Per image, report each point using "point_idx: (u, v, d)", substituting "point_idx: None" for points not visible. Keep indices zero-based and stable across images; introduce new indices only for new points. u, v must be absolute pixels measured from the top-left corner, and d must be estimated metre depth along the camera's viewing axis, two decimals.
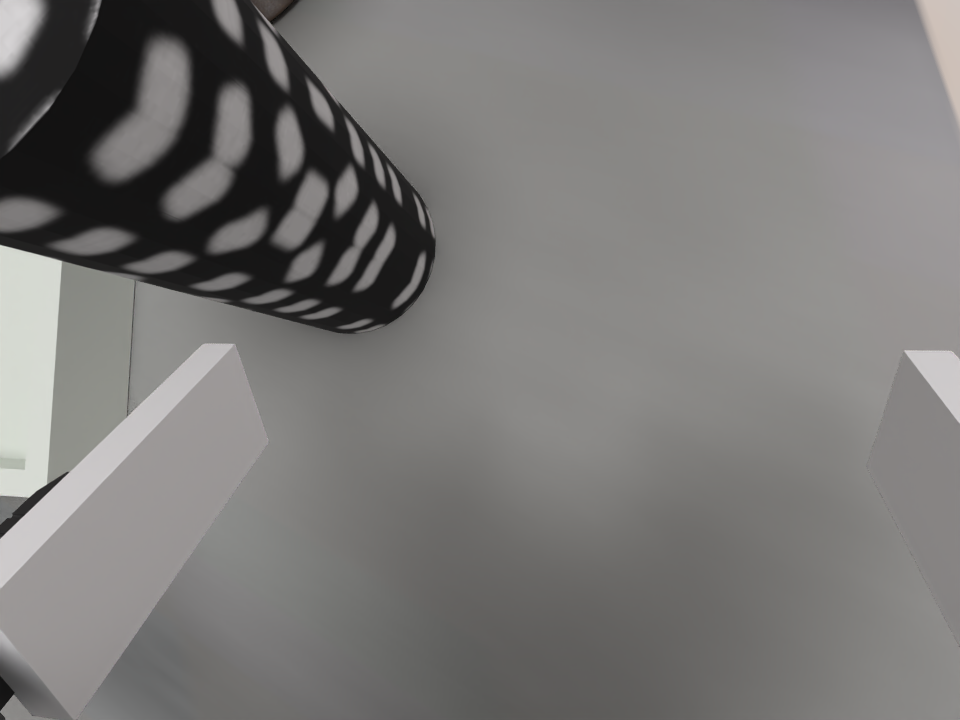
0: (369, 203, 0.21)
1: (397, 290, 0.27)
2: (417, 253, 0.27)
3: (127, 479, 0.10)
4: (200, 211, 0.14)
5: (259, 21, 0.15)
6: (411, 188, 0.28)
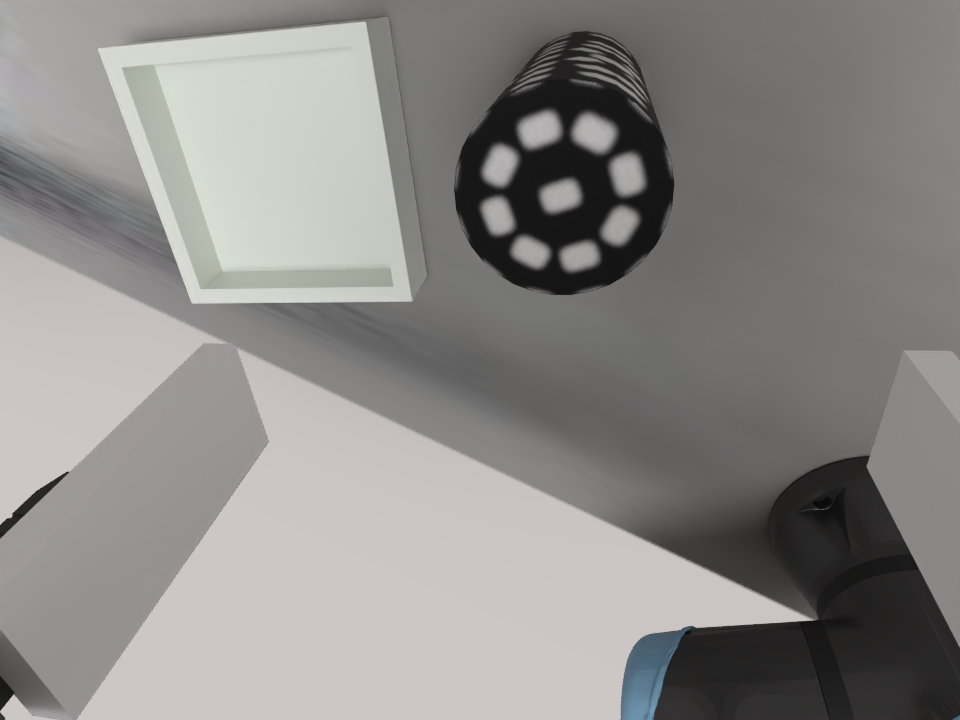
0: None
1: None
2: None
3: (127, 479, 0.10)
4: None
5: (655, 115, 0.26)
6: (638, 67, 0.37)
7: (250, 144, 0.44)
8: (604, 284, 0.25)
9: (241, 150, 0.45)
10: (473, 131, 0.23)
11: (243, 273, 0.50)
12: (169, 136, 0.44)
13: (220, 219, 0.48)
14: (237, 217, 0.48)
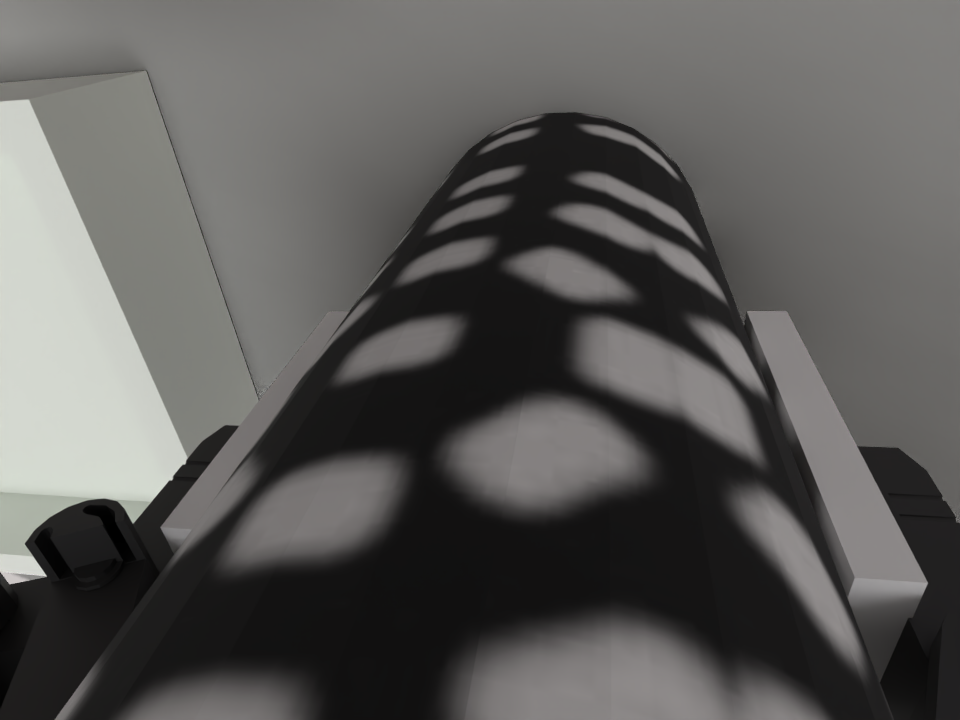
0: None
1: None
2: None
3: None
4: None
5: None
6: (696, 206, 0.16)
7: None
8: None
9: None
10: None
11: None
12: None
13: None
14: None
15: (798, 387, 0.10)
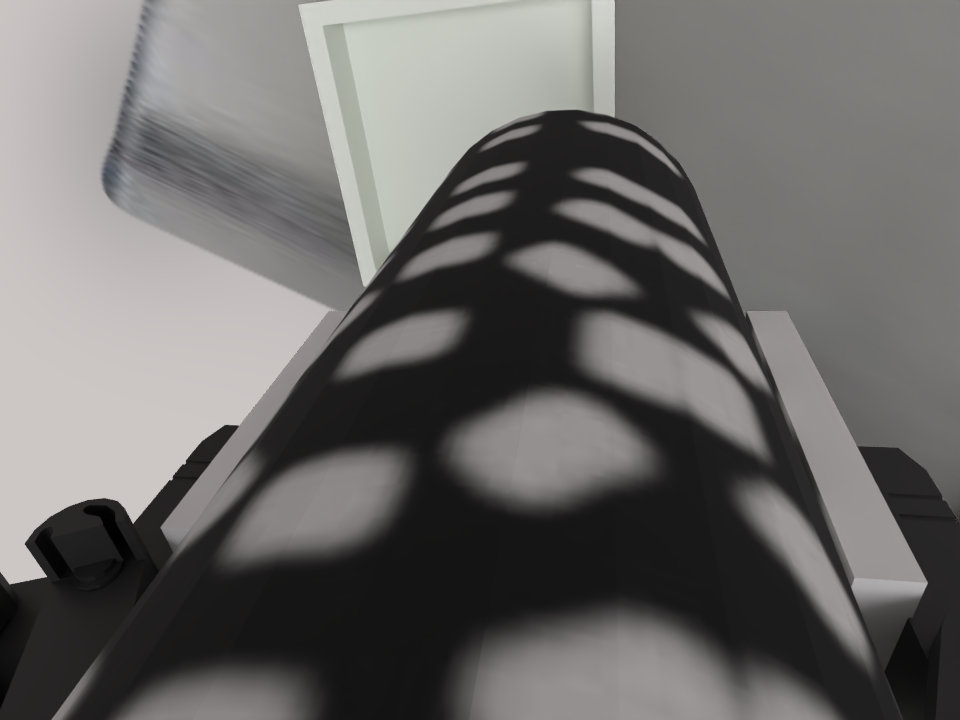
0: None
1: None
2: None
3: None
4: None
5: None
6: (698, 203, 0.16)
7: (440, 111, 0.41)
8: None
9: (429, 118, 0.41)
10: None
11: None
12: (354, 104, 0.41)
13: (394, 195, 0.45)
14: (414, 192, 0.44)
15: (798, 387, 0.10)
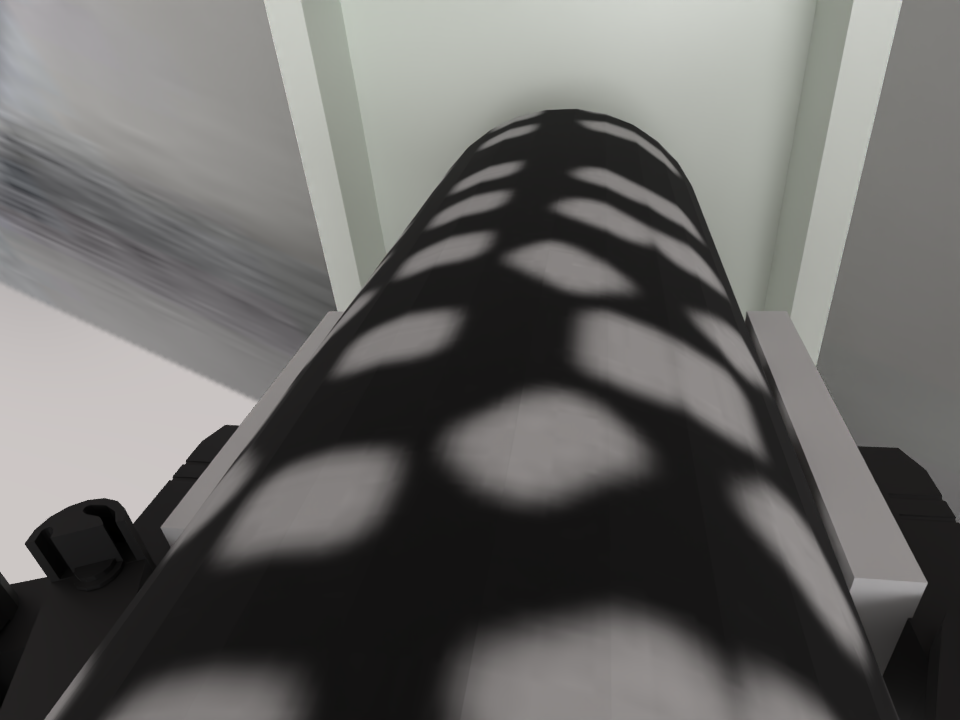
0: None
1: None
2: None
3: None
4: None
5: None
6: (696, 202, 0.16)
7: None
8: None
9: None
10: None
11: None
12: (354, 129, 0.23)
13: None
14: None
15: (798, 387, 0.10)
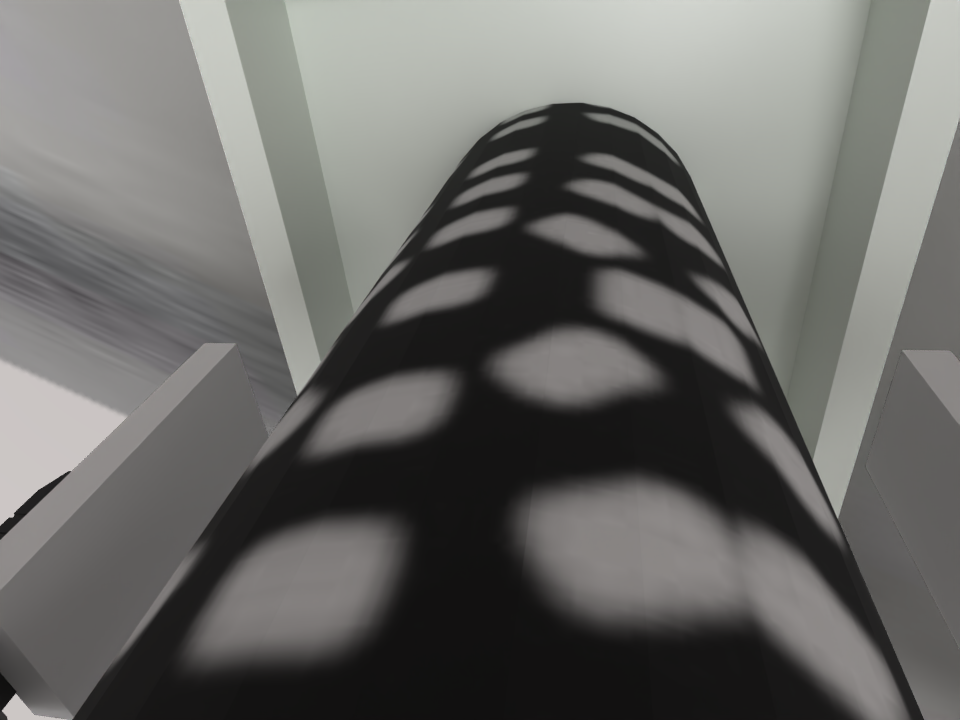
0: None
1: None
2: None
3: (129, 478, 0.10)
4: None
5: (882, 626, 0.06)
6: (694, 189, 0.17)
7: None
8: None
9: None
10: None
11: None
12: (307, 163, 0.19)
13: None
14: None
15: None
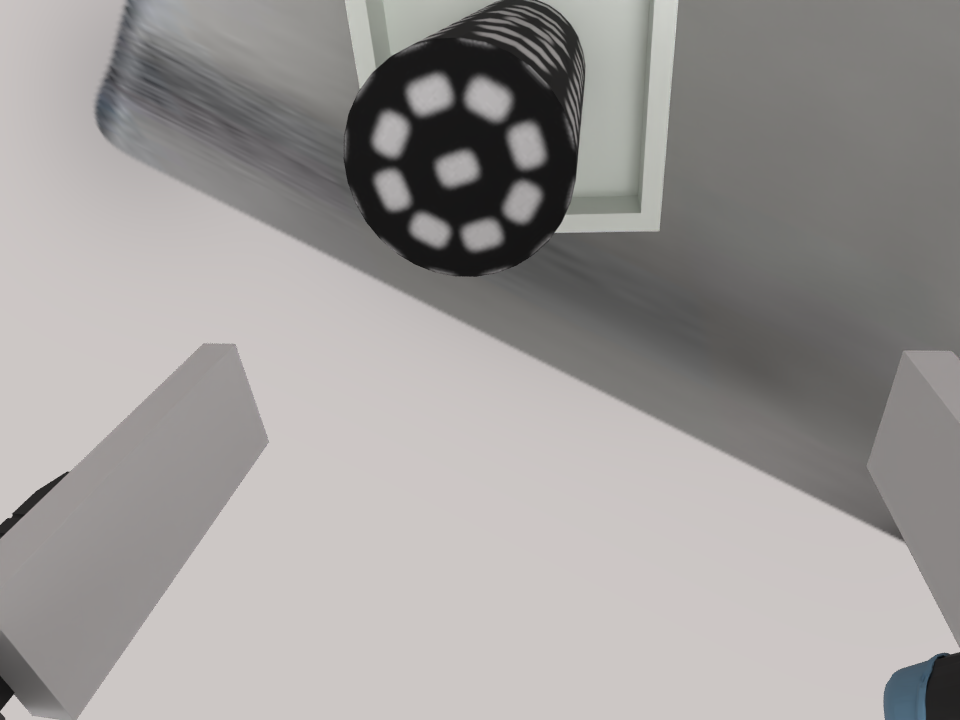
0: None
1: None
2: None
3: (127, 479, 0.10)
4: None
5: (569, 83, 0.24)
6: (574, 36, 0.35)
7: None
8: (510, 265, 0.24)
9: None
10: (359, 95, 0.21)
11: None
12: (382, 30, 0.37)
13: None
14: None
15: None
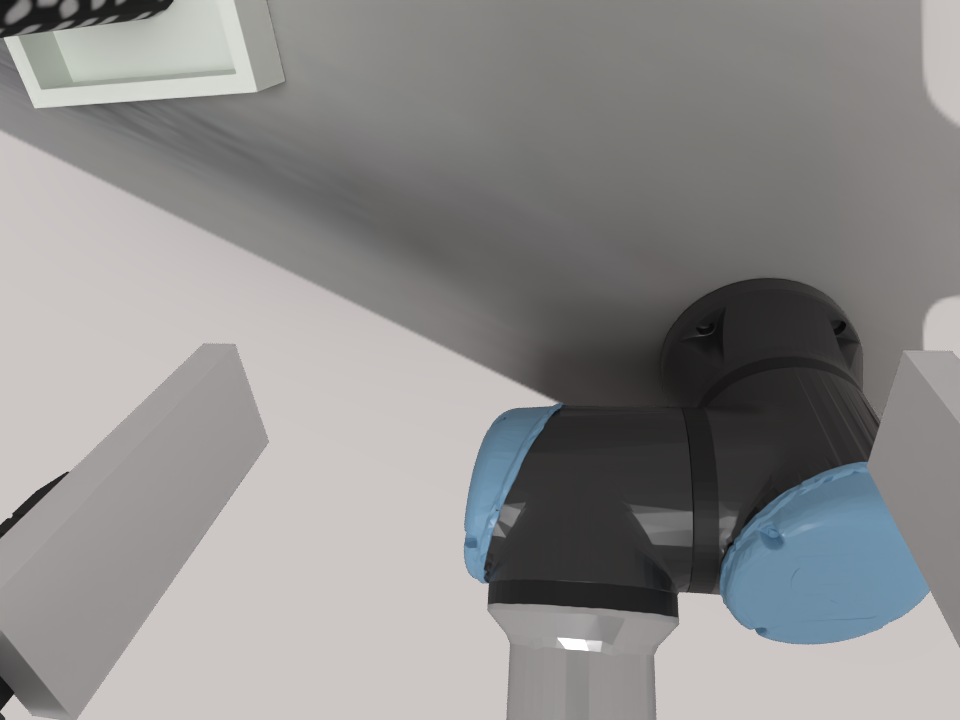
0: None
1: None
2: None
3: (127, 479, 0.10)
4: None
5: None
6: None
7: None
8: None
9: None
10: None
11: (93, 81, 0.47)
12: None
13: None
14: None
15: None
